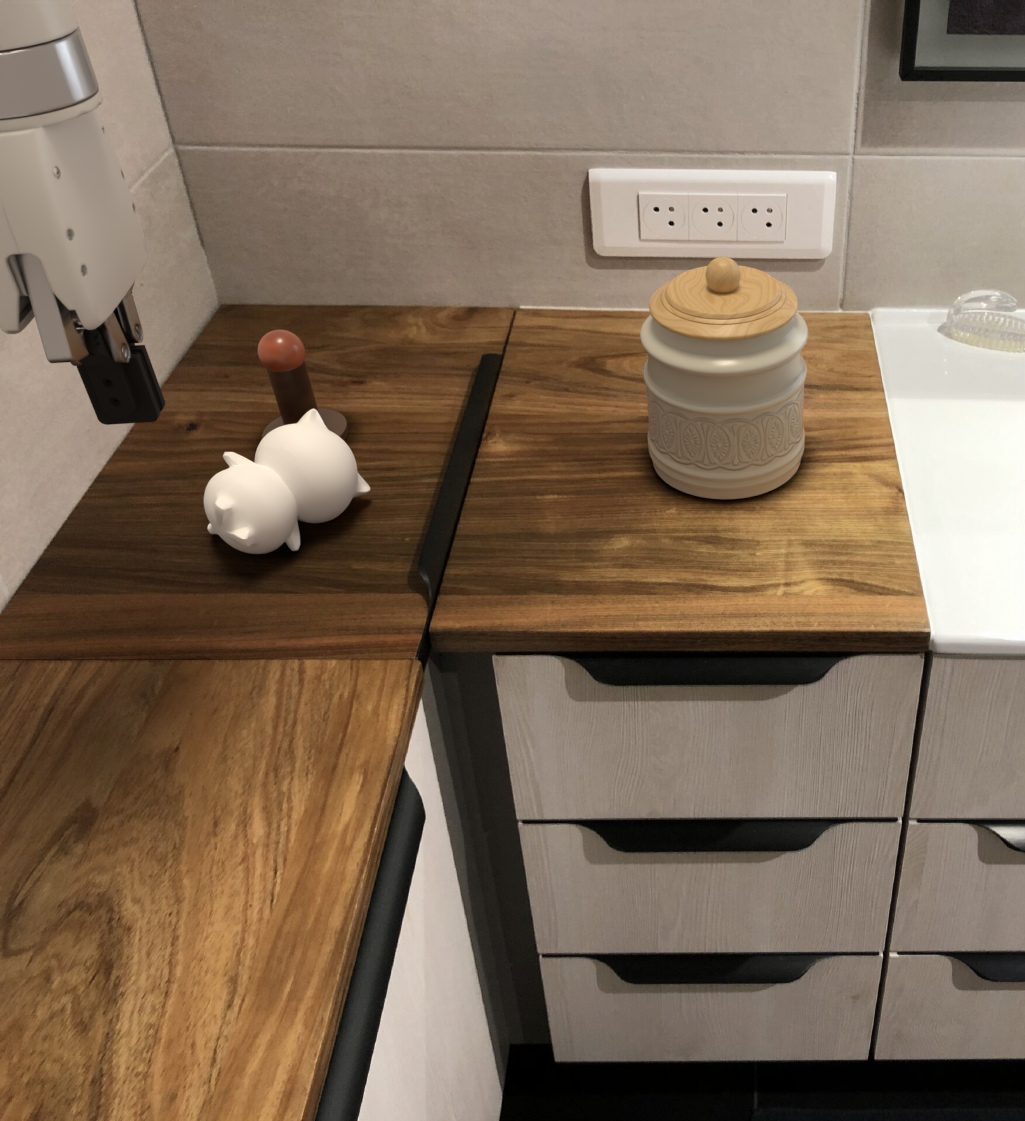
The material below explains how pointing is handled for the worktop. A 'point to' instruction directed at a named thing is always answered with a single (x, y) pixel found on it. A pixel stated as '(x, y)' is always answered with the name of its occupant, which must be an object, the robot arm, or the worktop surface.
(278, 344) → the marker post
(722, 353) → the jar
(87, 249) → the robot arm
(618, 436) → the worktop surface
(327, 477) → the cat figurine
